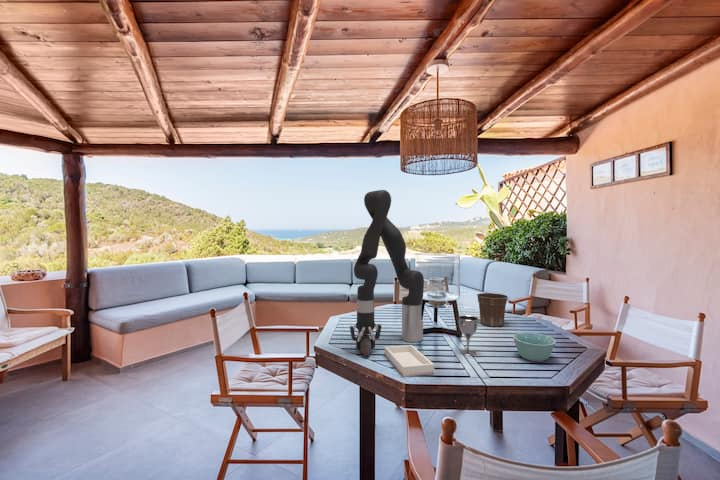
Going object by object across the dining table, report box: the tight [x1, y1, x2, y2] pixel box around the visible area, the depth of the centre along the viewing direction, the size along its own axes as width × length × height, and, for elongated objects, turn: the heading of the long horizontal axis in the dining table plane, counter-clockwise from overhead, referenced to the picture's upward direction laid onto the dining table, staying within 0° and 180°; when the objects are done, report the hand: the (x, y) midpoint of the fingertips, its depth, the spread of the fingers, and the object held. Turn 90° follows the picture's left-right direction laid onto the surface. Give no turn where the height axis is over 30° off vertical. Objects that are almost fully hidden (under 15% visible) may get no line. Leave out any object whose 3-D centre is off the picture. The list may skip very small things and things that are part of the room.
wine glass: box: [458, 315, 479, 356], centre depth 150 cm, size 8×8×15 cm
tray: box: [384, 344, 435, 378], centre depth 137 cm, size 12×22×4 cm, turn 14°
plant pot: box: [476, 292, 509, 328], centre depth 195 cm, size 16×16×16 cm
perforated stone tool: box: [359, 334, 372, 357], centre depth 149 cm, size 15×5×7 cm, turn 3°
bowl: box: [512, 332, 557, 363], centre depth 144 cm, size 16×16×8 cm
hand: (365, 349), depth 150 cm, fingers closed on perforated stone tool, 5 cm apart
